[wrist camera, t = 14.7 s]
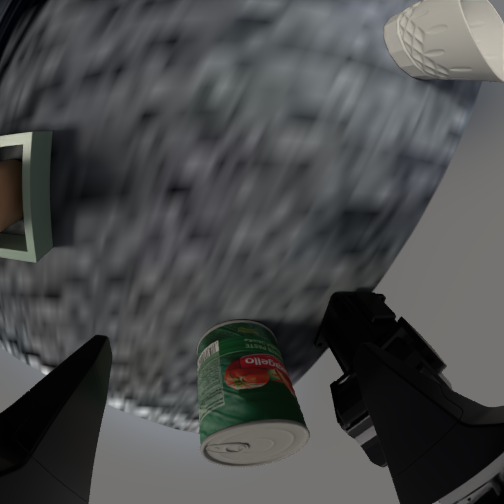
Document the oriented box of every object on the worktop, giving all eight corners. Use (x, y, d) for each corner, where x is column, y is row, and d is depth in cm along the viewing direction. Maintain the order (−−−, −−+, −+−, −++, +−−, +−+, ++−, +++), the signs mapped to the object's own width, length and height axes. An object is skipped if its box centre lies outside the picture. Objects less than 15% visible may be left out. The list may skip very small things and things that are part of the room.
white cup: (437, 97, 18) (519, 101, 9) (375, 66, 17) (465, 46, 8) (437, 34, 15) (509, 23, 6) (376, -1, 14) (449, -36, 5)
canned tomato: (285, 320, 25) (327, 416, 15) (267, 376, 28) (293, 462, 18) (198, 316, 23) (202, 425, 13) (194, 374, 26) (198, 468, 16)
